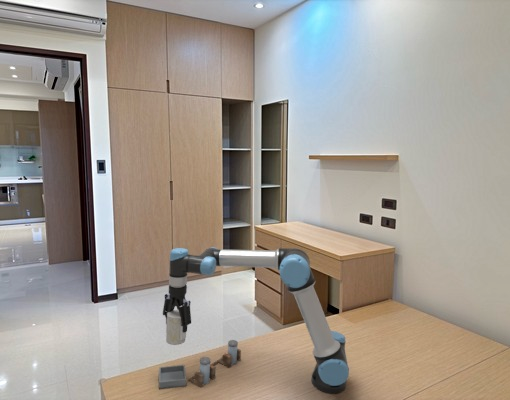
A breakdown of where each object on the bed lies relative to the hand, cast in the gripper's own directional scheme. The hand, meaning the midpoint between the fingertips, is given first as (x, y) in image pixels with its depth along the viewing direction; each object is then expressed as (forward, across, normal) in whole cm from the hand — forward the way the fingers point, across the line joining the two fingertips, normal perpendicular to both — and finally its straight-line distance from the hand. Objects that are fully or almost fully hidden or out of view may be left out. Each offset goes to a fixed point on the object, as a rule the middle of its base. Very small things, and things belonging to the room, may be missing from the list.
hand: (175, 335), depth 152 cm
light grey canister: (+2, 0, 0) cm, 2 cm away
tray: (+20, 0, +1) cm, 20 cm away
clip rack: (+20, -9, -17) cm, 28 cm away
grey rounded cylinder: (+20, -11, -7) cm, 24 cm away
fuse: (+20, -11, -27) cm, 35 cm away
